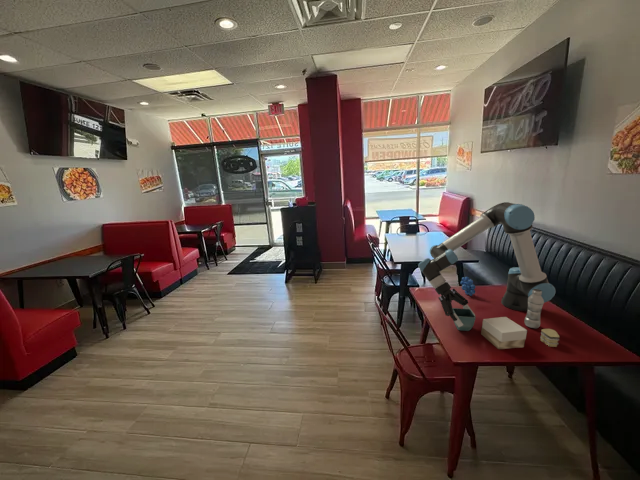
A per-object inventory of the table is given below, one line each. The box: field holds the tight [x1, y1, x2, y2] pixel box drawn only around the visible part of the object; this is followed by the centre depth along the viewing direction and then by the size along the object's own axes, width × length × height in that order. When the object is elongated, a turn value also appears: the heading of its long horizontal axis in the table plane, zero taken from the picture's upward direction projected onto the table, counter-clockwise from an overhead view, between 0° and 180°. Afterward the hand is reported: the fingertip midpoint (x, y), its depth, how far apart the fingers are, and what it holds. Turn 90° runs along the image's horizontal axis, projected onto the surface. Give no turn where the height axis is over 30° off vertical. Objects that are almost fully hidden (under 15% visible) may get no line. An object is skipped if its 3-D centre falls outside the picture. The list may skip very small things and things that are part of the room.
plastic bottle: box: [523, 289, 545, 329], centre depth 134 cm, size 6×7×20 cm
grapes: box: [460, 276, 476, 297], centre depth 173 cm, size 12×7×12 cm, turn 16°
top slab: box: [481, 316, 528, 342], centre depth 124 cm, size 12×12×4 cm
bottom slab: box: [480, 327, 526, 350], centre depth 126 cm, size 12×12×4 cm
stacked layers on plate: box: [539, 328, 560, 348], centre depth 123 cm, size 10×9×6 cm
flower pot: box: [452, 307, 476, 332], centre depth 136 cm, size 9×9×9 cm
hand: (467, 321), depth 134 cm, fingers open, 13 cm apart
